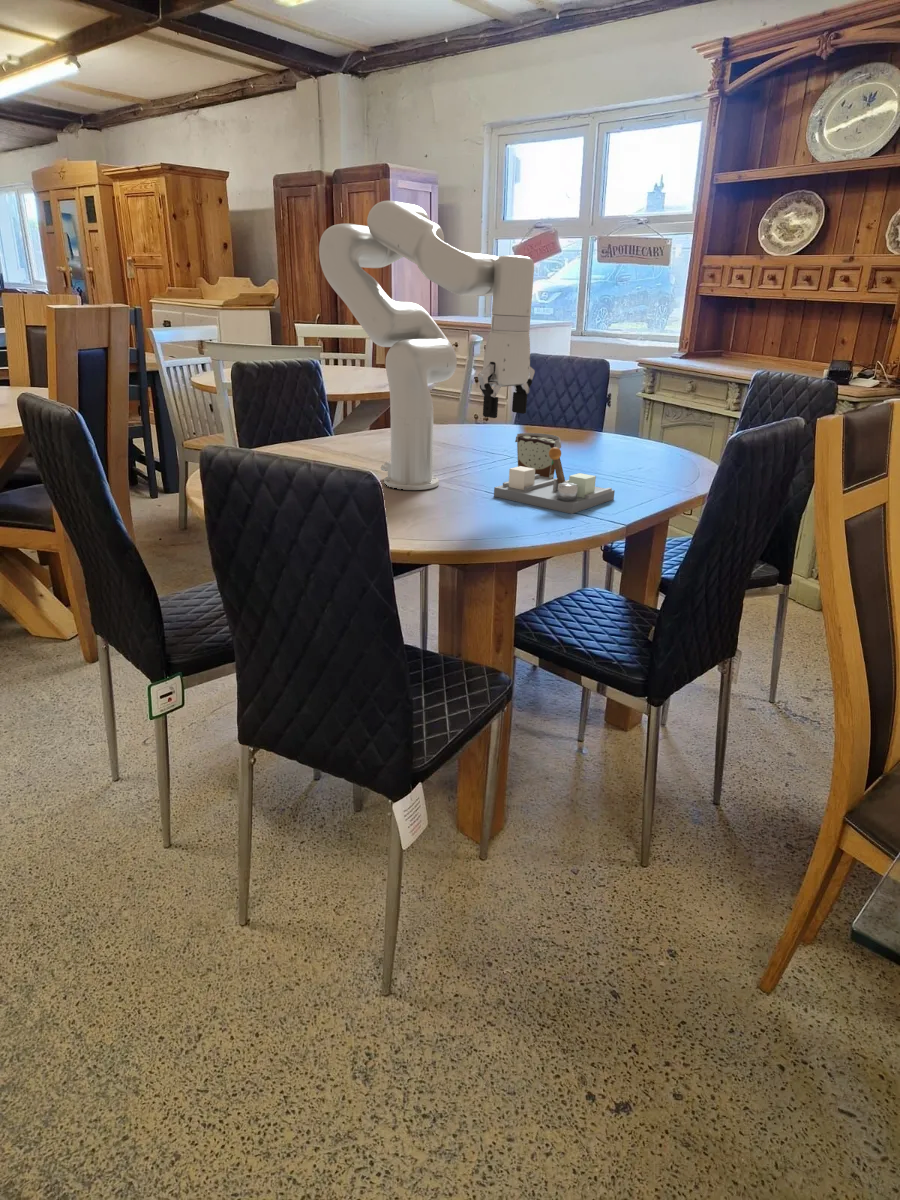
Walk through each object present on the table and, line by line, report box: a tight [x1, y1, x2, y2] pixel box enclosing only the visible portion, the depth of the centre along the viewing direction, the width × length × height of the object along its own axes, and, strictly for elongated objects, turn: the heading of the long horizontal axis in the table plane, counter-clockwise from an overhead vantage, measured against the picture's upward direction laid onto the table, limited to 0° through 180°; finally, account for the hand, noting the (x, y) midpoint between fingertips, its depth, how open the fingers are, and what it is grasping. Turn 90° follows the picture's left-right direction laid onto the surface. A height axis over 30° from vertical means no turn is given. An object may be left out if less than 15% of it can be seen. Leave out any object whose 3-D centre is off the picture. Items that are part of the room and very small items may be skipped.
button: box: [557, 483, 578, 502], centre depth 156 cm, size 4×4×3 cm
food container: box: [514, 432, 562, 478], centre depth 184 cm, size 12×6×10 cm, turn 47°
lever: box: [549, 447, 566, 484], centre depth 161 cm, size 3×3×10 cm
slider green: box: [568, 472, 597, 498], centre depth 160 cm, size 4×4×4 cm
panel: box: [493, 474, 616, 515], centre depth 165 cm, size 20×17×4 cm
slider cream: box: [508, 465, 535, 490], centre depth 165 cm, size 4×4×4 cm
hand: (504, 414), depth 154 cm, fingers open, 9 cm apart
